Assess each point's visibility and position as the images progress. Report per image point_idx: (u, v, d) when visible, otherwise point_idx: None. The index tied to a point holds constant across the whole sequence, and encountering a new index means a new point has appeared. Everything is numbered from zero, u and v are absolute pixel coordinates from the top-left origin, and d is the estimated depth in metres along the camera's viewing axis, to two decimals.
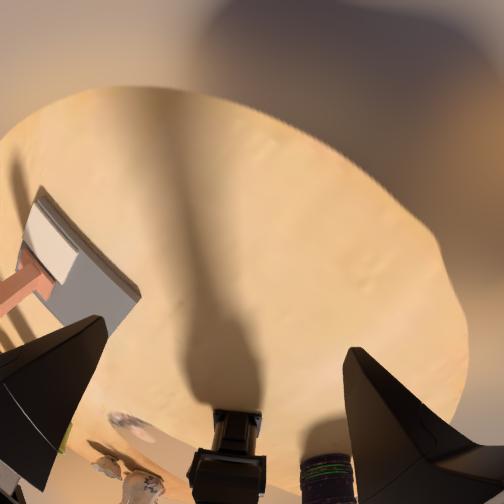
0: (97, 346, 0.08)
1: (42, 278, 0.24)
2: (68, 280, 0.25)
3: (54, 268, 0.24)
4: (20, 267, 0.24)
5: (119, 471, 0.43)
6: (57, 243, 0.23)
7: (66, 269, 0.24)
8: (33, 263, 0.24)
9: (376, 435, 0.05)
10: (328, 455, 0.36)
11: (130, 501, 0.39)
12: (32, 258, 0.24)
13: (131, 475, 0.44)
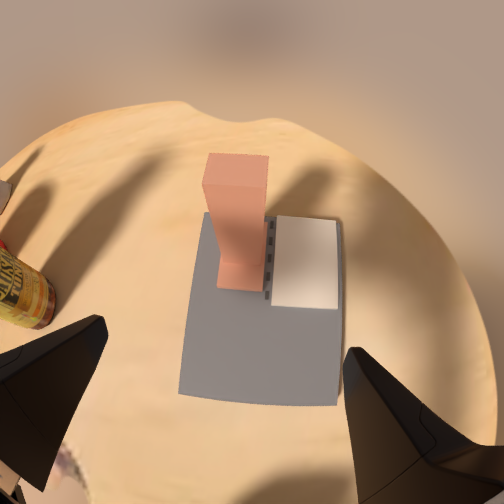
0: (97, 346, 0.08)
1: (253, 268, 0.22)
2: (283, 311, 0.21)
3: (286, 284, 0.22)
4: None
5: None
6: (324, 276, 0.22)
7: (303, 303, 0.21)
8: (264, 247, 0.23)
9: (376, 435, 0.05)
10: None
11: None
12: None
13: None
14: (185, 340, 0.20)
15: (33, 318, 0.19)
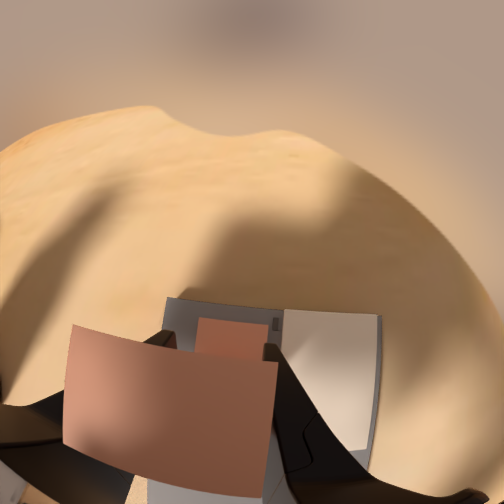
0: None
1: None
2: None
3: None
4: (208, 326, 0.14)
5: None
6: (353, 407, 0.12)
7: None
8: None
9: None
10: None
11: None
12: None
13: None
14: (149, 480, 0.10)
15: None
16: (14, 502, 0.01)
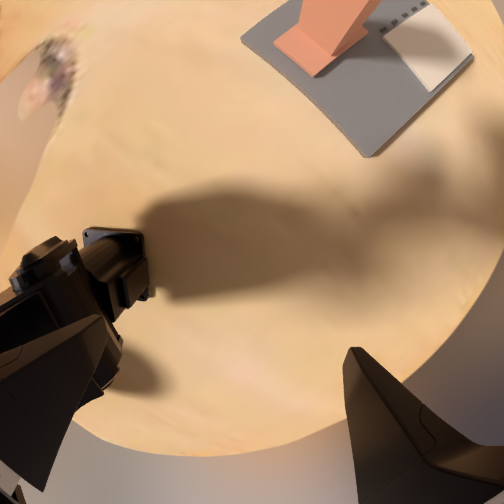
0: (97, 346, 0.08)
1: (321, 53, 0.14)
2: (387, 49, 0.14)
3: (405, 37, 0.13)
4: None
5: None
6: (438, 64, 0.13)
7: (408, 59, 0.13)
8: (347, 45, 0.13)
9: (376, 435, 0.05)
10: None
11: None
12: (353, 44, 0.13)
13: None
14: (284, 4, 0.13)
15: None
16: None
